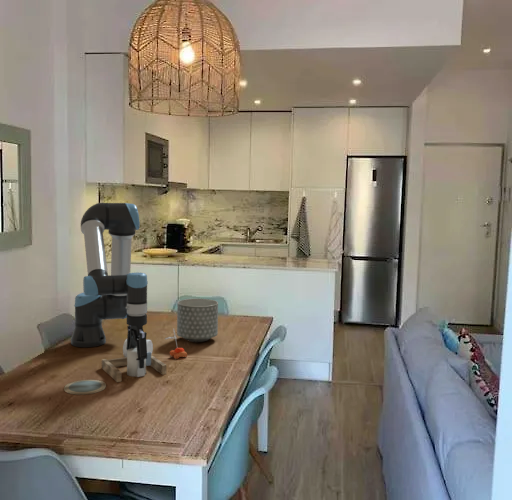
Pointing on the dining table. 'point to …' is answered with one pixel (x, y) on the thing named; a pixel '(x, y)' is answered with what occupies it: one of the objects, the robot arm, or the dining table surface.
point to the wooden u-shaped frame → (111, 364)
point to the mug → (148, 342)
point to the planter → (197, 319)
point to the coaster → (84, 387)
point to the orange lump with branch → (177, 350)
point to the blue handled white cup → (135, 361)
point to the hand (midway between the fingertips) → (136, 372)
